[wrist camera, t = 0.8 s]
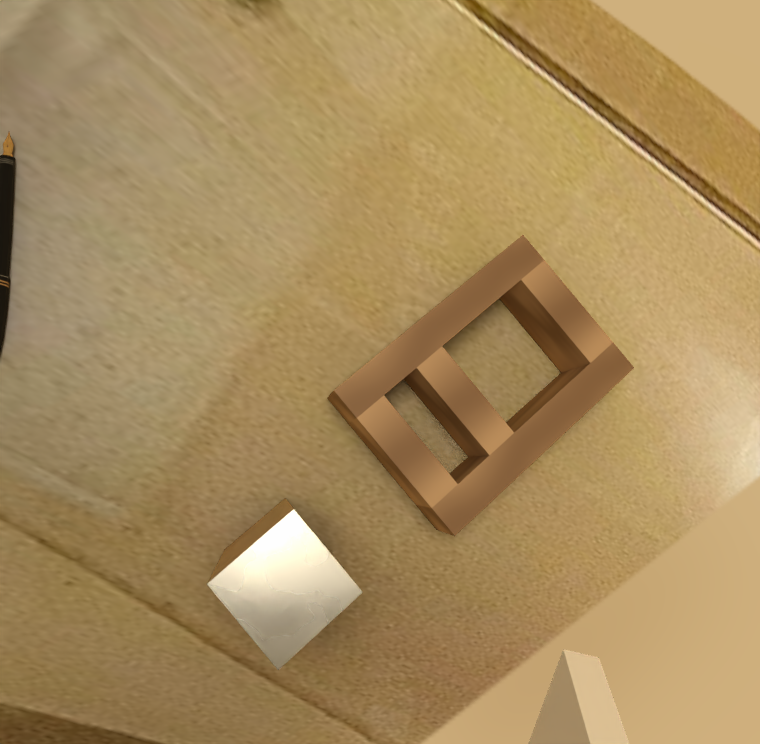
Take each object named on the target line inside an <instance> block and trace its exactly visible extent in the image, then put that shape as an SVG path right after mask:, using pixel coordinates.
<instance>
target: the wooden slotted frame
mask: <svg viewBox="0 0 760 744" xmlns="http://www.w3.org/2000/svg"><path fill="white" fill-rule="evenodd" d="M498 299H500V300H501V301H502V302H503V303H504V305H505V306H506V307H507V308H508V309H509V311H510V312H511V313H512V314H513V315H514V317H515V318H516V319H517V320H518V321H519V323H520V324H521V325H522V326H523V327H524V329H525V330H526V331H527V332H528V333H529V335H530V336H531V337H532V338H533V339H534V340H535V342H536V343H537V344H538V345H539V346H540V348H541V349H542V350H543V351H544V352H545V354H546V355H547V356H548V357H549V358H550V360H551V361H552V362H553V363H554V364H555V366H556V367H557V368H558V369H559V370H560V372H561V374H559V375H558V376H557V377H556V378H555V379H554V380H553V381H552V382H551V383H549V384H548V385H547V386H546V387H545V388H544V389H543V390H542V391H541V392H540V393H538V394H537V395H536V396H535V397H534V398H533V399H532V400H531V401H530V402H529V403H527V404H526V405H525V406H524V407H523V408H522V409H521V410H520V411H519V412H517V413H516V414H515V415H514V416H513V417H512V418H511V419H510V420H509V421H508V422H505V421H504V420H503V419H502V417H501V416H500V415H499V414H498V413H497V411H496V410H495V409H494V408H493V407H492V405H491V404H490V403H489V402H488V401H487V399H486V398H485V397H484V396H483V395H482V393H481V392H480V391H479V390H478V389H477V387H476V386H475V385H474V384H473V383H472V381H471V380H470V379H469V378H468V377H467V375H466V374H465V373H464V372H463V371H462V369H461V368H460V367H459V366H458V365H457V363H456V362H455V361H454V360H453V359H452V357H451V356H450V355H449V354H448V353H447V351H446V350H445V349H444V348H443V347H442V346H443V345H444V344H445V343H446V342H448V341H449V340H450V339H451V338H452V337H454V336H455V335H456V334H457V333H458V332H460V331H461V330H462V329H463V328H464V327H465V326H467V325H468V324H469V323H470V322H471V321H473V320H474V319H475V318H476V317H477V316H479V315H480V314H481V313H482V312H483V311H484V310H486V309H487V308H488V307H489V306H490V305H492V304H493V303H494V302H495V301H496V300H498ZM633 368H634V367H633V366H632V365H631V363H630V362H629V361H628V360H627V359H626V357H625V356H624V355H623V354H622V353H621V352H620V350H619V349H618V348H617V347H616V346H615V344H614V343H613V342H612V341H611V340H610V338H609V337H608V336H607V335H606V334H605V332H604V331H603V330H602V329H601V328H600V326H599V325H598V324H597V323H596V322H595V320H594V319H593V318H592V317H591V316H590V314H589V313H588V312H587V311H586V310H585V308H584V307H583V306H582V305H581V304H580V302H579V301H578V300H577V299H576V298H575V296H574V295H573V294H572V293H571V292H570V290H569V289H568V288H567V287H566V286H565V284H564V283H563V282H562V281H561V280H560V278H559V277H558V276H557V275H556V274H555V272H554V271H553V270H552V269H551V268H550V266H549V265H548V264H547V263H546V262H545V260H544V259H543V258H542V257H541V256H540V254H539V253H538V252H537V251H536V250H535V248H534V247H533V246H532V245H531V244H530V242H529V241H528V240H527V239H526V238H525V237H524V235H522V236H521V237H520V238H519V239H517V240H516V241H515V242H514V243H513V244H511V245H510V246H509V247H508V248H506V249H505V250H504V251H503V252H502V253H500V254H499V255H498V256H497V257H496V258H494V259H493V260H492V261H491V262H489V263H488V264H487V265H486V266H485V267H483V268H482V269H481V270H480V271H478V272H477V273H476V274H475V275H474V276H472V277H471V278H470V279H469V280H468V281H466V282H465V283H464V284H463V285H461V286H460V287H459V288H458V289H457V290H455V291H454V292H453V293H452V294H450V295H449V296H448V297H447V298H446V299H444V300H443V301H442V302H441V303H440V304H438V305H437V306H436V307H435V308H433V309H432V310H431V311H430V312H429V313H427V314H426V315H425V316H424V317H422V318H421V319H420V320H419V321H418V322H416V323H415V324H414V325H413V326H412V327H410V328H409V329H408V330H407V331H405V332H404V333H403V334H402V335H401V336H399V337H398V338H397V339H396V340H394V341H393V342H392V343H391V344H390V345H388V346H387V347H386V348H385V349H384V350H382V351H381V352H380V353H379V354H377V355H376V356H375V357H374V358H373V359H371V360H370V361H369V362H368V363H367V364H365V365H364V366H363V367H362V368H360V369H359V370H358V371H357V372H356V373H354V374H353V375H352V376H351V377H349V378H348V379H347V380H346V381H345V382H343V383H342V384H341V385H340V386H339V387H337V388H336V389H335V390H334V391H333V392H332V393H331V394H330V395H329V397H328V398H327V399H328V400H329V401H330V402H331V403H332V405H333V406H334V407H335V408H336V409H337V411H338V412H339V413H340V414H341V415H342V417H343V418H344V419H345V420H346V421H347V423H348V424H349V425H350V426H351V427H352V429H353V430H354V431H355V432H356V433H357V435H358V436H359V437H360V438H361V439H362V441H363V442H364V443H365V444H366V445H367V447H368V448H369V449H370V450H371V451H372V453H373V454H374V455H375V456H376V457H377V459H378V460H379V461H380V462H381V463H382V465H383V466H384V467H385V468H386V469H387V471H388V472H389V473H390V474H391V475H392V477H393V478H394V479H395V480H396V481H397V483H398V484H399V485H400V486H401V488H402V489H403V490H404V491H405V492H406V494H407V495H408V496H409V497H410V498H411V500H412V501H413V502H414V503H415V504H416V506H417V507H418V508H419V509H420V510H421V512H422V513H423V514H424V515H425V516H426V518H427V519H428V520H429V521H430V522H431V524H432V525H433V526H434V527H435V528H436V530H439V531H442V532H445V533H448V534H451V535H454V536H455V535H456V534H457V533H458V532H460V531H461V530H462V529H463V528H464V527H465V526H466V525H467V524H468V523H469V522H470V521H471V520H472V519H473V518H474V517H476V516H477V515H478V514H479V513H480V512H481V511H482V510H483V509H484V508H485V507H486V506H487V505H488V504H489V503H490V502H492V501H493V500H494V499H495V498H496V497H497V496H498V495H499V494H500V493H501V492H502V491H503V490H504V489H505V488H507V487H508V486H509V485H510V484H511V483H512V482H513V481H514V480H515V479H516V478H517V477H518V476H519V475H520V474H521V473H523V472H524V471H525V470H526V469H527V468H528V467H529V466H530V465H531V464H532V463H533V462H534V461H535V460H536V459H537V458H539V457H540V456H541V455H542V454H543V453H544V452H545V451H546V450H547V449H548V448H549V447H550V446H551V445H552V444H553V443H555V442H556V441H557V440H558V439H559V438H560V437H561V436H562V435H563V434H564V433H565V432H566V431H567V430H568V429H569V428H571V427H572V426H573V425H574V424H575V423H576V422H577V421H578V420H579V419H580V418H581V417H582V416H583V415H584V414H585V413H587V412H588V411H589V410H590V409H591V408H592V407H593V406H594V405H595V404H596V403H597V402H598V401H599V400H600V399H601V398H603V397H604V396H605V395H606V394H607V393H608V392H609V391H610V390H611V389H612V388H613V387H614V386H615V385H616V384H617V383H619V382H620V381H621V380H622V379H623V378H624V377H625V376H626V375H627V374H628V373H629V372H630V371H631V370H632V369H633ZM403 379H404V380H405V381H406V382H407V384H408V385H409V386H410V387H411V388H412V390H413V391H414V392H415V393H416V394H417V396H418V397H419V398H420V399H421V400H422V402H423V403H424V404H425V405H426V406H427V408H428V409H429V410H430V411H431V412H432V414H433V415H434V416H435V417H436V418H437V420H438V421H439V422H440V423H441V424H442V426H443V427H444V428H445V429H446V430H447V432H448V433H449V434H450V435H451V436H452V438H453V439H454V440H455V441H456V442H457V444H458V445H459V446H460V447H461V448H462V450H463V451H464V452H465V453H466V454H467V456H468V458H467V459H466V460H464V461H463V462H462V463H461V464H460V465H459V466H458V467H457V468H456V469H455V470H453V471H452V472H451V473H450V474H449V473H448V472H447V471H446V469H445V468H444V467H443V466H442V465H441V463H440V462H439V461H438V460H437V459H436V457H435V456H434V455H433V454H432V453H431V451H430V450H429V449H428V448H427V447H426V445H425V444H424V443H423V442H422V441H421V439H420V438H419V437H418V436H417V435H416V433H415V432H414V431H413V430H412V429H411V427H410V426H409V425H408V424H407V423H406V421H405V420H404V419H403V418H402V417H401V415H400V414H399V413H398V412H397V411H396V409H395V408H394V407H393V406H392V405H391V403H390V402H389V401H388V400H387V399H386V397H385V396H384V395H385V394H386V393H387V392H388V391H390V390H391V389H392V388H393V387H394V386H395V385H397V384H398V383H399V382H400V381H401V380H403Z"/></svg>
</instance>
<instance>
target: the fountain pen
mask: <svg viewBox="0 0 760 744" xmlns="http://www.w3.org/2000/svg"><path fill="white" fill-rule="evenodd" d="M13 147H14V145H13V142H12V140H11V137H10V133H8V136H7V138H6V140H5V142H4V143H3V150H4V153H3V155H0V349H1V345H2V341H3V336H4V329H5V322H6V315H7V305H8V295H9V284H10V279H9V277H8V276H9V263H10V250H11V237H12V216H13V194H14V166H15V158H14V157H13V155H12V151H13Z"/></svg>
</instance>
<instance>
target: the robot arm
mask: <svg viewBox="0 0 760 744" xmlns="http://www.w3.org/2000/svg"><path fill="white" fill-rule="evenodd" d="M529 744H629V742H628V739H627V736H626V733H625V730H624V727H623V725H622V722H621V719H620V716H619V713H618V710H617V708H616V705H615V702H614V700H613V697H612V694H611V691H610V688H609V685H608V682H607V679H606V677H605V674H604V671H603V668H602V665H601V663H600V660H599V658H598V657H595V656H590V655H586V654H582V653H577V652H573V651H569V650H564V649H563V652H562V655H561V657H560V660H559V662H558V666H557V668H556V671H555V673H554V676H553V679H552V681H551V685H550V687H549V690H548V692H547V695H546V698H545V700H544V703H543V706H542V708H541V711H540V714H539V717H538V719H537V722H536V725H535V727H534V730H533V733H532V736H531V738H530V741H529Z"/></svg>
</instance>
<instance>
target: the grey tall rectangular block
mask: <svg viewBox="0 0 760 744" xmlns="http://www.w3.org/2000/svg"><path fill="white" fill-rule="evenodd" d="M207 585H208V586H209V587H210V589H211V590H212V591H213V592H214V593H215V595H216V596H217V597H218V598H219V599H220V601H221V602H222V603H223V604H224V605H225V607H226V608H227V609H228V610H229V611H230V613H231V614H232V615H233V616H234V617H235V619H236V620H237V621H238V622H239V624H240V625H241V626H242V627H243V628H244V630H245V631H246V632H247V633H248V634H249V636H250V637H251V638H252V639H253V640H254V642H255V643H256V644H257V645H258V646H259V648H260V649H261V650H262V651H263V652H264V654H265V655H266V656H267V657H268V658H269V660H270V661H271V662H272V663H273V665H274V666H275V667H276V668H277V669H278V670H279V669H280V668H281V667H282V666H283V665H284V664H285V663H287V662H288V661H289V660H290V659H291V658H292V657H293V656H294V655H295V654H296V653H297V652H298V651H300V650H301V649H302V648H303V647H304V646H305V645H306V644H307V643H308V642H309V641H310V640H311V639H313V638H314V637H315V636H316V635H317V634H318V633H319V632H320V631H321V630H322V629H323V628H324V627H326V626H327V625H328V624H329V623H330V622H331V621H332V620H333V619H334V618H335V617H336V616H337V615H339V614H340V613H341V612H342V611H343V610H344V609H345V608H346V607H347V606H348V605H349V604H350V603H352V602H353V601H354V600H355V599H356V598H357V597H358V596H359V595H360V594H361V593H362V591H361V589H360V588H359V587H358V586H357V584H356V583H355V582H354V581H353V580H352V578H351V577H350V576H349V575H348V573H347V572H346V571H345V570H344V568H343V567H342V566H341V565H340V564H339V562H338V561H337V560H336V559H335V557H334V556H333V555H332V554H331V553H330V551H329V550H328V549H327V548H326V546H325V545H324V544H323V543H322V542H321V540H320V539H319V538H318V537H317V536H316V534H315V533H314V532H313V531H312V530H311V528H310V527H309V526H308V525H307V524H306V522H305V521H304V520H303V519H302V518H301V516H300V515H299V514H298V513H297V512H296V510H295V509H294V508H293V507H292V506H291V504H290V503H289V502H288V501H287V500H286V498H285V499H283V500H282V501H281V502H280V503H279V504H278V505H276V506H275V507H274V508H273V509H272V510H271V511H269V512H268V513H267V514H266V515H265V516H264V517H262V518H261V519H260V520H259V521H258V522H256V523H255V524H254V525H253V526H252V527H251V528H249V529H248V530H247V531H246V532H245V533H244V534H242V535H241V536H240V537H239V538H238V539H236V540H235V541H234V542H233V543H232V544H231V545H229V546H228V547H227V548H226V549H225V550H224V552H223V554H222V556H221V557H220V559H219V561H218V563H217V565H216V567H215V569H214V571H213V573H212V575H211V577H210V579H209V581H208V583H207Z"/></svg>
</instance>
